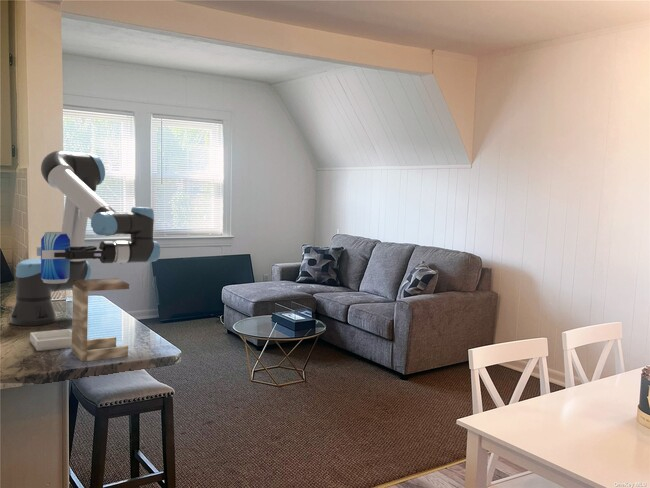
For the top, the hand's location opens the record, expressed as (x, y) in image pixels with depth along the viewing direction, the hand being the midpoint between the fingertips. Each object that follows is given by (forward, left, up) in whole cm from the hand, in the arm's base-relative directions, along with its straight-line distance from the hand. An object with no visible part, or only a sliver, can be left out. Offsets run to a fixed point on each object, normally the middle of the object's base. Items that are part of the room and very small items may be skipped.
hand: (39, 253), depth 176 cm
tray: (-2, +4, -30) cm, 30 cm away
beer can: (-2, +4, -10) cm, 11 cm away
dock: (+8, +21, -30) cm, 37 cm away
